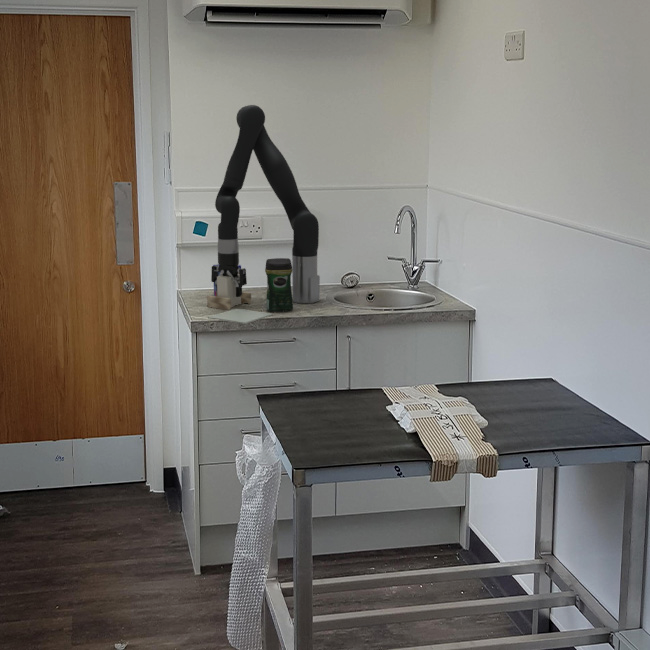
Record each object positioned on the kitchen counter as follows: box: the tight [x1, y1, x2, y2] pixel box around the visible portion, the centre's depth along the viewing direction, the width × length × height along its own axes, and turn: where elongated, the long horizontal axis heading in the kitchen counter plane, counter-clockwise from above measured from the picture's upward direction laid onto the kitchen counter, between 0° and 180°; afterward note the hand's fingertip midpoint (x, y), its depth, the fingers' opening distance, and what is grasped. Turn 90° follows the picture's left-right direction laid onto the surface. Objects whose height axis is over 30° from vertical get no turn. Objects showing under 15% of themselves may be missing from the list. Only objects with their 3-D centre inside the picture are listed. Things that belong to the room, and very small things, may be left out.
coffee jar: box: [264, 257, 294, 313], centre depth 334 cm, size 10×8×19 cm
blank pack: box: [217, 274, 242, 308], centre depth 343 cm, size 4×8×11 cm, turn 148°
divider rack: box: [206, 291, 252, 311], centre depth 344 cm, size 10×13×4 cm
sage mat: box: [207, 308, 274, 325], centre depth 326 cm, size 16×16×1 cm
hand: (229, 295), depth 343 cm, fingers open, 8 cm apart
